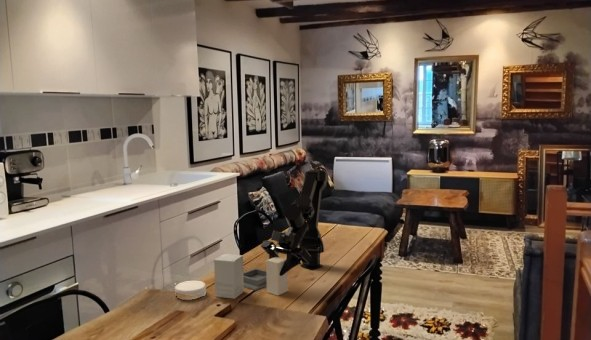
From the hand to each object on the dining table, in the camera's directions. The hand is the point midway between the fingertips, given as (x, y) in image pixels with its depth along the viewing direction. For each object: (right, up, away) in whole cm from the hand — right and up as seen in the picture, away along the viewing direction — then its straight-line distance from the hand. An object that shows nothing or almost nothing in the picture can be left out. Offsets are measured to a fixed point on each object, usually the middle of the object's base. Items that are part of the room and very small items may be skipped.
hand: (274, 273), depth 157 cm
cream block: (+1, -6, +2) cm, 7 cm away
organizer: (-7, -5, +12) cm, 15 cm away
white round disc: (-28, -7, 0) cm, 29 cm away
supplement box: (-15, -7, 0) cm, 16 cm away
